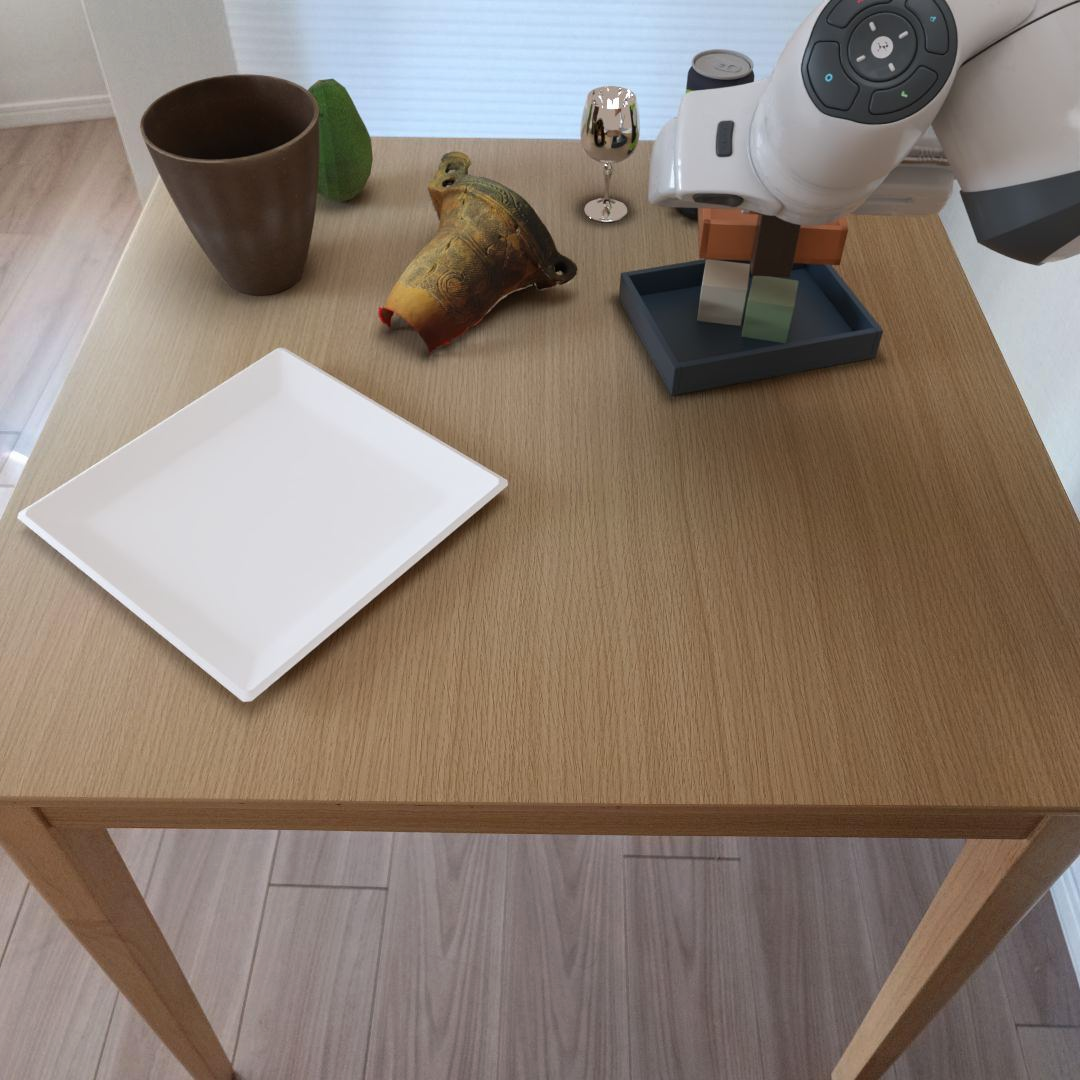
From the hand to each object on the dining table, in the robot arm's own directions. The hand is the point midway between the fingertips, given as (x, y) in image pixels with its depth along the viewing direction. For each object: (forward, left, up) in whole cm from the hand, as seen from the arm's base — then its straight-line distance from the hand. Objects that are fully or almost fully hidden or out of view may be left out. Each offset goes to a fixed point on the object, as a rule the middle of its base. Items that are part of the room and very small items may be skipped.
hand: (780, 204), depth 82 cm
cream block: (-1, -10, -13) cm, 16 cm away
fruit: (+29, -39, -17) cm, 52 cm away
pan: (-2, -6, -5) cm, 8 cm away
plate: (+41, +5, -17) cm, 45 cm away
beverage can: (-7, -27, -17) cm, 33 cm away
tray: (-3, -7, -17) cm, 19 cm away
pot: (+19, -19, -17) cm, 32 cm away
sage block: (-4, -6, -13) cm, 15 cm away
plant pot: (+38, -27, -17) cm, 50 cm away
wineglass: (+3, -29, -17) cm, 34 cm away
